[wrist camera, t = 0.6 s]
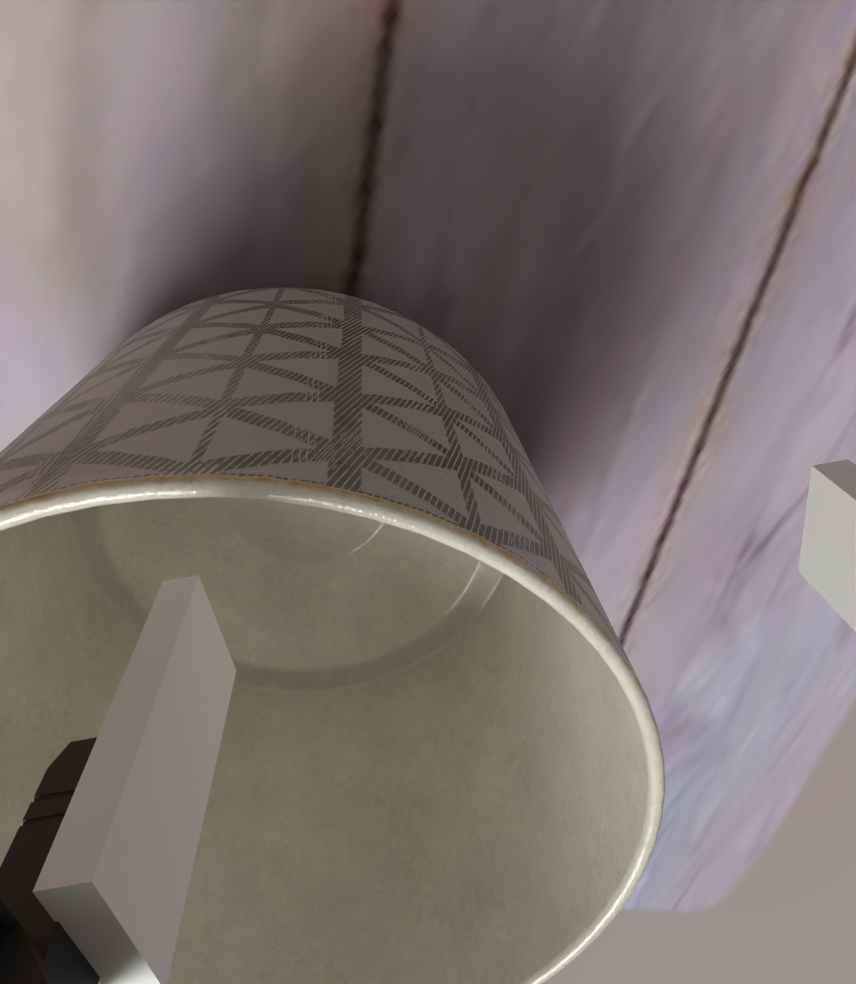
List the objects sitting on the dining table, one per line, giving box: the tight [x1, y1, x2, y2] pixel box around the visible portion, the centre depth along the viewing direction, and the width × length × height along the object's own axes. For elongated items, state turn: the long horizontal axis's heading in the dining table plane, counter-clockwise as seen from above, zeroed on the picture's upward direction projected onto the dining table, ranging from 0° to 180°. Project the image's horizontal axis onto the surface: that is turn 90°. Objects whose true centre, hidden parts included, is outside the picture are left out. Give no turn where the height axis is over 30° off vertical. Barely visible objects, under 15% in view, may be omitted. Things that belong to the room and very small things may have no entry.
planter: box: [0, 287, 665, 984], centre depth 31 cm, size 25×25×24 cm
